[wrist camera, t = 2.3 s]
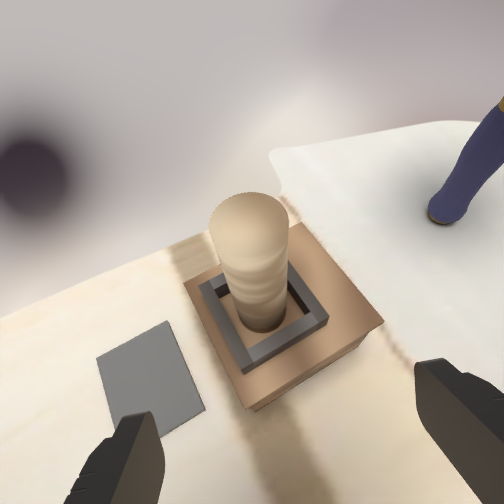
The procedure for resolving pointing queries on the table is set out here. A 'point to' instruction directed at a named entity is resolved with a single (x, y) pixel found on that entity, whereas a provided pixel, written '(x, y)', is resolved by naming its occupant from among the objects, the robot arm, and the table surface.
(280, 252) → the wooden cylinder
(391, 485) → the table surface
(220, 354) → the wooden box
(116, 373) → the rubber mat
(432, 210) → the rubber mallet
